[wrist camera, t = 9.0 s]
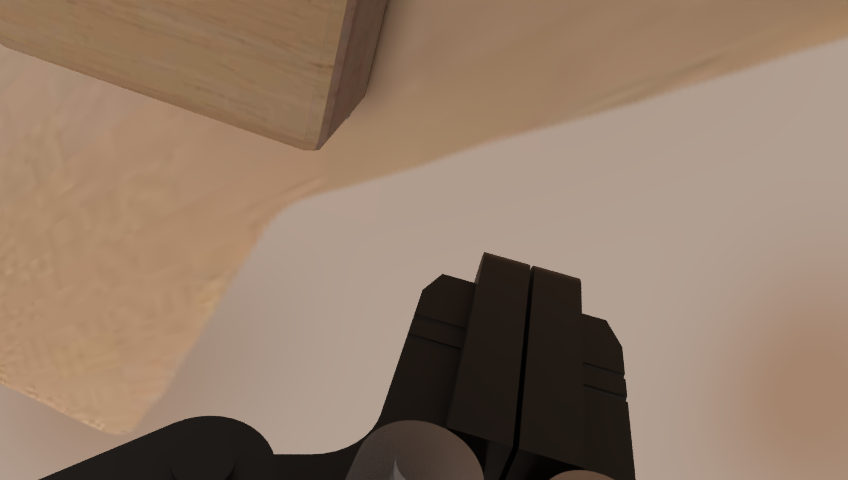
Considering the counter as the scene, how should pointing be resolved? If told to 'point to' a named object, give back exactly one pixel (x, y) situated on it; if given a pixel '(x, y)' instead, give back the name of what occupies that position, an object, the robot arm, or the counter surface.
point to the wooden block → (215, 55)
